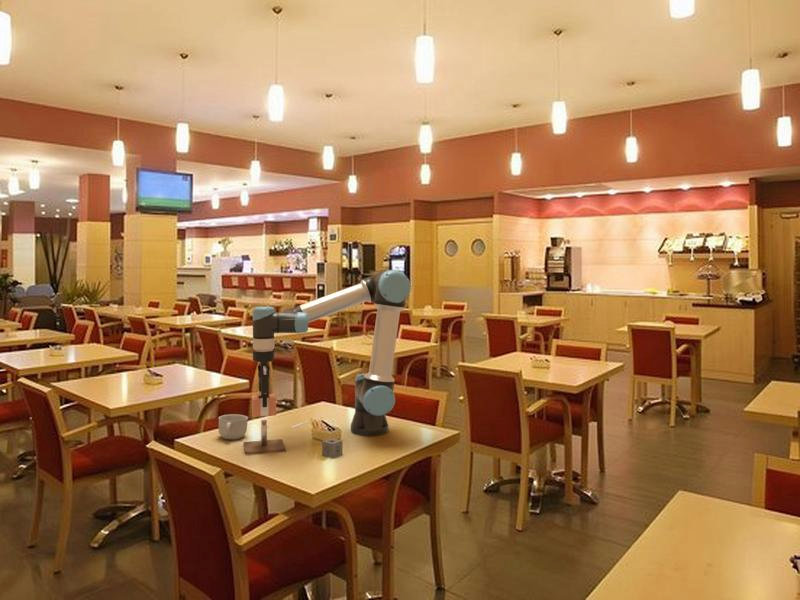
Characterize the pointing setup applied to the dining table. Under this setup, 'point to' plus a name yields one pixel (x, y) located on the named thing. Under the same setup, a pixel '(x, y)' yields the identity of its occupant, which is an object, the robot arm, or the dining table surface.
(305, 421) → the butter knife
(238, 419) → the teacup
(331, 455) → the dice cube
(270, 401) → the pink upright block
